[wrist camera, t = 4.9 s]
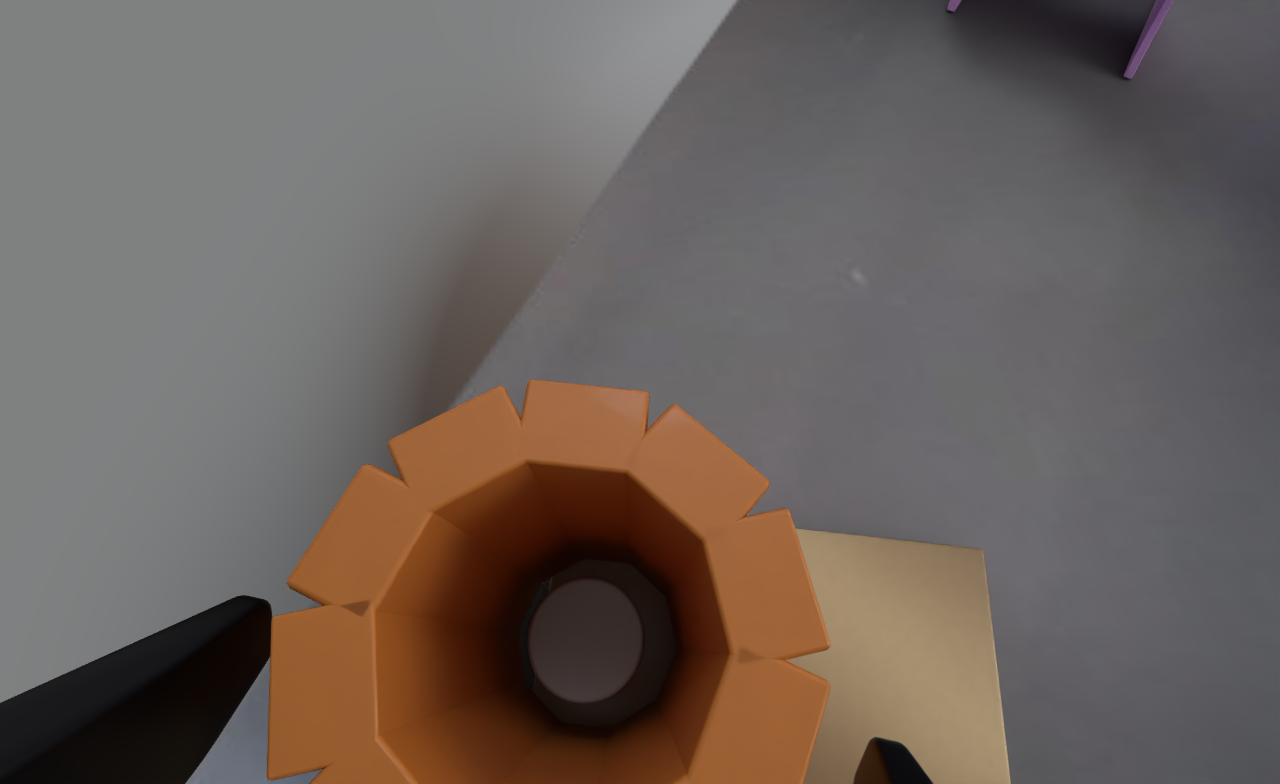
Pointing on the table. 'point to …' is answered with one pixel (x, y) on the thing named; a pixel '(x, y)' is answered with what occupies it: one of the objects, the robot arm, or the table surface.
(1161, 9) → the toy chair
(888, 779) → the robot arm
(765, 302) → the table surface
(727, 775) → the pen holder
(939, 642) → the ring board
